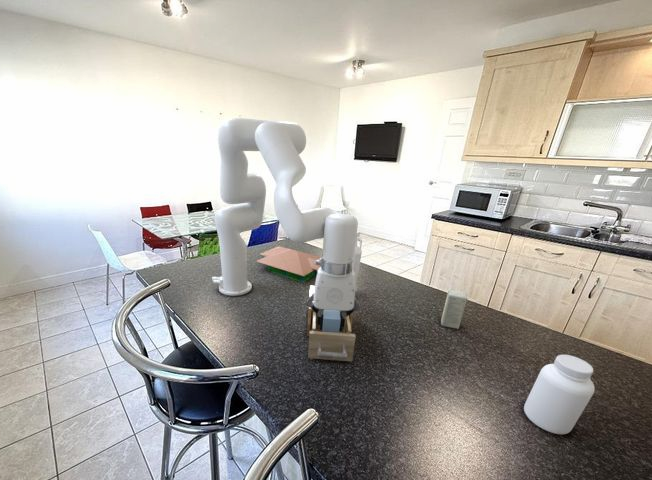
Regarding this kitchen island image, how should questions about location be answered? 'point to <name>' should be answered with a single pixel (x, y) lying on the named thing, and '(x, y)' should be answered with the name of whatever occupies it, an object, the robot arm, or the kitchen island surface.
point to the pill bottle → (560, 394)
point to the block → (331, 321)
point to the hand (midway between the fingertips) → (330, 327)
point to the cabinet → (310, 311)
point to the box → (453, 309)
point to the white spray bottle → (357, 257)
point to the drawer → (331, 342)
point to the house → (290, 261)
